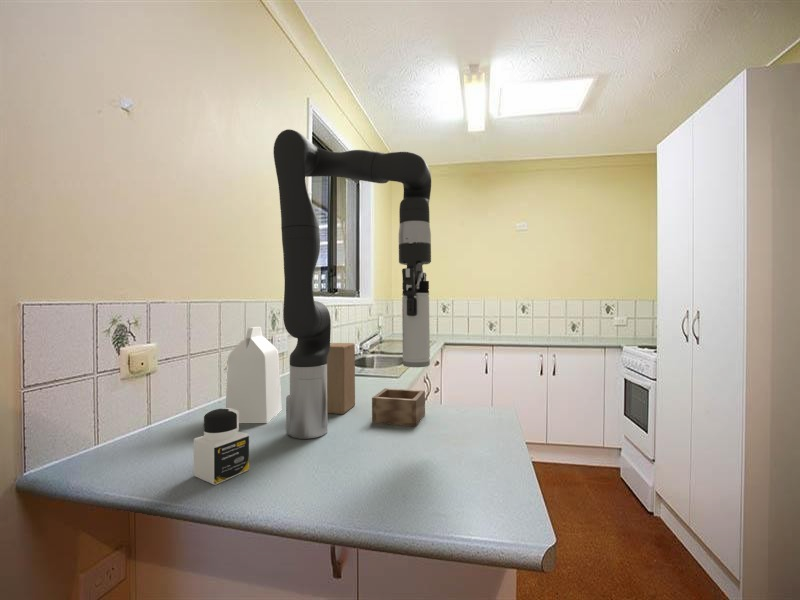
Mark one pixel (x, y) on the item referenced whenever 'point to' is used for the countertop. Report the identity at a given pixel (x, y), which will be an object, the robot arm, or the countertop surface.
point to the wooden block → (340, 378)
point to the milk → (254, 379)
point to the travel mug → (417, 330)
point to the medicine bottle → (221, 447)
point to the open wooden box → (398, 407)
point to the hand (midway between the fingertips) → (415, 315)
